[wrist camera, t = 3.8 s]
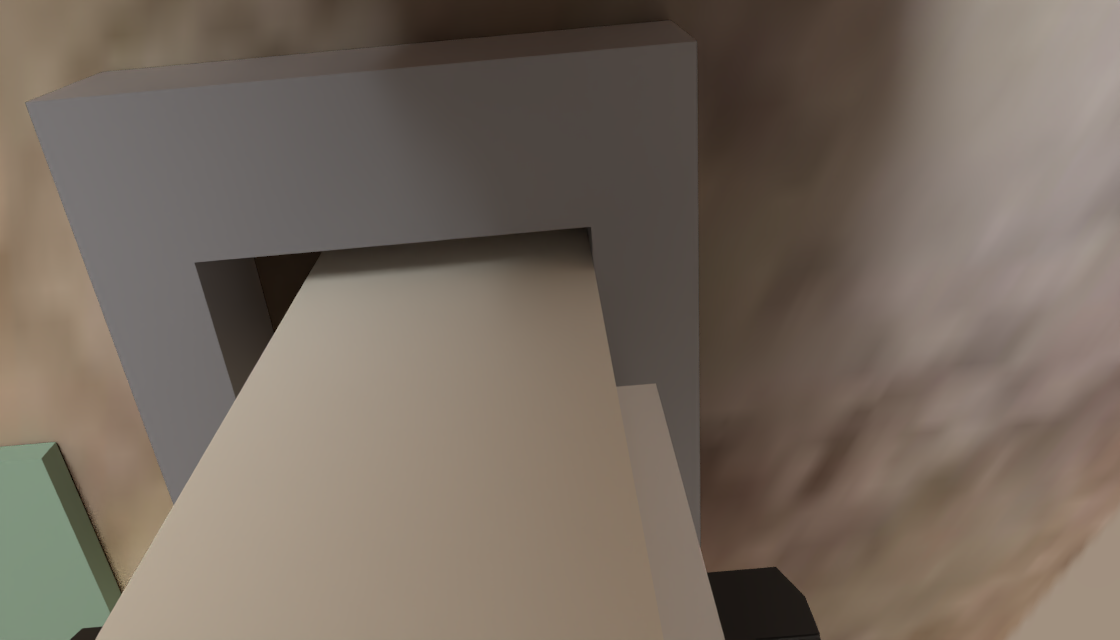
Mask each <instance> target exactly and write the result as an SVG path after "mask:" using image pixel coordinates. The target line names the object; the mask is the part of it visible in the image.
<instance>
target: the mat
mask: <svg viewBox="0 0 1120 640" xmlns="http://www.w3.org/2000/svg"><path fill="white" fill-rule="evenodd" d="M120 596H121V592H120V590H119V587H118V585H117V583H116V580H115V578H114V576H113V573H112V571H111V569H110V566H109V564H108V562H107V559H106V557H105V555H104V553H103V550H102V548H101V546H100V543H99V541H98V539H97V536H96V534H95V532H94V529H93V527H92V525H91V522H90V520H89V518H88V515H87V513H86V511H85V509H84V506H83V504H82V502H81V499H80V497H79V495H78V492H77V490H76V488H75V485H74V483H73V481H72V478H71V476H70V474H69V471H68V469H67V467H66V465H65V462H64V460H63V458H62V455H61V453H60V451H59V448H58V446H57V444H56V442H50V443H39V444H27V445H16V446H5V447H0V640H70V639H71V638H72V637H73V636H74V635H76V634H77V633H78V632H79V631H80V630H81V629H82V628H91V627H103V625H104V624H105V622H106V620H107V618H108V617H109V615H110V613H111V612H112V610H113V608H114V606H115V605H116V603H117V601H118V600H119V598H120Z"/></svg>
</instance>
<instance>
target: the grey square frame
mask: <svg viewBox="0 0 1120 640" xmlns="http://www.w3.org/2000/svg"><path fill="white" fill-rule="evenodd" d="M25 104H26V106H27V109H28V112H29V115H30V117H31V120H32V123H33V125H34V128H35V131H36V133H37V136H38V139H39V142H40V144H41V147H42V150H43V152H44V155H45V158H46V161H47V163H48V166H49V169H50V171H51V174H52V177H53V179H54V182H55V185H56V188H57V190H58V193H59V196H60V198H61V201H62V204H63V207H64V209H65V212H66V215H67V217H68V220H69V223H70V226H71V228H72V231H73V234H74V236H75V239H76V242H77V244H78V247H79V250H80V253H81V255H82V258H83V261H84V263H85V266H86V269H87V272H88V274H89V277H90V280H91V282H92V285H93V288H94V291H95V293H96V296H97V299H98V301H99V304H100V307H101V309H102V312H103V315H104V318H105V320H106V323H107V326H108V328H109V331H110V334H111V337H112V339H113V342H114V345H115V347H116V350H117V353H118V355H119V358H120V361H121V364H122V366H123V369H124V372H125V374H126V377H127V380H128V383H129V385H130V388H131V391H132V393H133V396H134V399H135V402H136V404H137V407H138V410H139V412H140V415H141V418H142V420H143V423H144V426H145V429H146V431H147V434H148V437H149V439H150V442H151V445H152V448H153V450H154V453H155V456H156V458H157V461H158V464H159V467H160V469H161V472H162V475H163V477H164V480H165V483H166V485H167V488H168V491H169V494H170V496H171V499H172V502H173V504H175V502H176V500H177V499H178V497H179V495H180V494H181V492H182V490H183V488H184V487H185V485H186V483H187V482H188V480H189V478H190V477H191V475H192V473H193V471H194V470H195V468H196V466H197V465H198V463H199V461H200V459H201V458H202V456H203V454H204V453H205V451H206V449H207V447H208V446H209V444H210V442H211V441H212V439H213V437H214V436H215V434H216V432H217V430H218V429H219V427H220V425H221V424H222V422H223V420H224V418H225V417H226V415H227V413H228V412H229V410H230V408H231V406H232V405H233V403H234V401H235V400H236V398H237V396H238V394H239V393H240V391H241V389H242V388H243V386H244V384H245V383H246V381H247V379H248V377H249V376H250V374H251V372H252V371H253V369H254V367H255V365H256V364H257V362H258V360H259V359H260V357H261V355H262V353H263V352H264V350H265V348H266V347H267V345H268V343H269V342H270V340H271V338H272V336H273V335H274V331H273V328H272V324H271V320H270V316H269V313H268V309H267V305H266V302H265V298H264V294H263V290H262V287H261V283H260V279H259V276H258V272H257V268H256V264H255V261H254V257H261V256H272V255H283V254H294V253H306V252H317V251H328V250H339V249H350V248H361V247H372V246H383V245H394V244H405V243H416V242H427V241H439V240H450V239H461V238H472V237H483V236H494V235H505V234H516V233H527V232H538V231H549V230H561V229H572V228H583V227H586V229H587V234H588V240H589V245H590V250H591V256H592V261H593V266H594V271H595V276H596V281H597V287H598V292H599V297H600V303H601V308H602V313H603V319H604V324H605V329H606V335H607V340H608V345H609V351H610V356H611V361H612V367H613V372H614V377H615V383H616V387H620V386H632V385H644V384H655V383H656V386H657V390H658V393H659V397H660V401H661V404H662V408H663V412H664V416H665V419H666V423H667V427H668V430H669V434H670V438H671V442H672V445H673V449H674V453H675V456H676V460H677V464H678V468H679V471H680V475H681V479H682V482H683V486H684V490H685V493H686V497H687V501H688V505H689V508H690V512H691V516H692V519H693V523H694V527H695V531H696V534H697V538H698V542H699V545H700V549H701V530H700V384H699V237H698V91H697V41H696V40H695V39H694V38H693V37H691V36H690V35H689V34H688V33H686V32H685V31H684V30H683V29H681V28H680V27H679V26H678V25H676V24H675V23H674V22H673V21H671V20H666V21H655V22H644V23H633V24H622V25H611V26H600V27H589V28H578V29H567V30H556V31H546V32H535V33H524V34H513V35H502V36H491V37H480V38H469V39H458V40H447V41H436V42H425V43H414V44H403V45H392V46H381V47H370V48H359V49H348V50H337V51H326V52H315V53H304V54H293V55H282V56H271V57H260V58H249V59H238V60H227V61H216V62H205V63H194V64H183V65H172V66H162V67H151V68H140V69H129V70H118V71H107V72H101V73H98V74H96V75H93V76H90V77H88V78H85V79H83V80H80V81H78V82H75V83H73V84H70V85H68V86H65V87H63V88H60V89H58V90H55V91H53V92H50V93H47V94H45V95H42V96H40V97H37V98H35V99H32V100H30V101H27V102H25Z"/></svg>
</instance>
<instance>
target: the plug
mask: <svg viewBox="0 0 1120 640" xmlns="http://www.w3.org/2000/svg"><path fill="white" fill-rule="evenodd" d="M95 640H664V638H663V633H662V628H661V622H660V617H659V612H658V606H657V601H656V596H655V591H654V585H653V580H652V575H651V569H650V564H649V559H648V553H647V548H646V543H645V537H644V532H643V527H642V521H641V516H640V511H639V505H638V500H637V495H636V489H635V484H634V479H633V473H632V468H631V463H630V457H629V452H628V447H627V441H626V436H625V431H624V425H623V420H622V415H621V409H620V404H619V399H618V393H617V388H616V383H615V377H614V372H613V367H612V361H611V356H610V351H609V345H608V340H607V335H606V329H605V324H604V319H603V313H602V308H601V303H600V297H599V292H598V287H597V281H596V276H595V271H594V266H593V261H592V256H591V250H590V245H589V240H588V234H587V229H586V227H583V228H572V229H561V230H549V231H538V232H527V233H516V234H505V235H494V236H483V237H472V238H461V239H450V240H439V241H427V242H416V243H405V244H394V245H383V246H372V247H361V248H350V249H339V250H328V251H322V253H321V254H320V256H319V258H318V259H317V261H316V263H315V265H314V266H313V268H312V270H311V271H310V273H309V275H308V277H307V278H306V280H305V282H304V283H303V285H302V287H301V289H300V290H299V292H298V294H297V295H296V297H295V299H294V300H293V302H292V304H291V306H290V307H289V309H288V311H287V312H286V314H285V316H284V318H283V319H282V321H281V323H280V324H279V326H278V328H277V330H276V331H275V333H274V335H273V336H272V338H271V340H270V342H269V343H268V345H267V347H266V348H265V350H264V352H263V353H262V355H261V357H260V359H259V360H258V362H257V364H256V365H255V367H254V369H253V371H252V372H251V374H250V376H249V377H248V379H247V381H246V383H245V384H244V386H243V388H242V389H241V391H240V393H239V394H238V396H237V398H236V400H235V401H234V403H233V405H232V406H231V408H230V410H229V412H228V413H227V415H226V417H225V418H224V420H223V422H222V424H221V425H220V427H219V429H218V430H217V432H216V434H215V436H214V437H213V439H212V441H211V442H210V444H209V446H208V447H207V449H206V451H205V453H204V454H203V456H202V458H201V459H200V461H199V463H198V465H197V466H196V468H195V470H194V471H193V473H192V475H191V477H190V478H189V480H188V482H187V483H186V485H185V487H184V488H183V490H182V492H181V494H180V495H179V497H178V499H177V500H176V502H175V504H174V506H173V507H172V509H171V511H170V512H169V514H168V516H167V518H166V519H165V521H164V523H163V524H162V526H161V528H160V530H159V531H158V533H157V535H156V536H155V538H154V540H153V541H152V543H151V545H150V547H149V548H148V550H147V552H146V553H145V555H144V557H143V559H142V560H141V562H140V564H139V565H138V567H137V569H136V571H135V572H134V574H133V576H132V577H131V579H130V581H129V582H128V584H127V586H126V588H125V589H124V591H123V593H122V594H121V596H120V598H119V600H118V601H117V603H116V605H115V606H114V608H113V610H112V612H111V613H110V615H109V617H108V618H107V620H106V622H105V624H104V625H103V627H102V629H101V630H100V632H99V634H98V635H97V637H96V639H95Z"/></svg>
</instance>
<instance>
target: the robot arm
mask: <svg viewBox="0 0 1120 640" xmlns="http://www.w3.org/2000/svg"><path fill="white" fill-rule="evenodd" d="M616 388H617V393H618V399H619V404H620V409H621V415H622V420H623V425H624V431H625V436H626V441H627V447H628V452H629V457H630V463H631V468H632V473H633V479H634V484H635V489H636V495H637V500H638V505H639V511H640V516H641V521H642V527H643V532H644V537H645V543H646V548H647V553H648V559H649V564H650V569H651V575H652V580H653V585H654V591H655V596H656V601H657V606H658V612H659V617H660V622H661V628H662V633H663V638H664V640H821V639H820V633H819V631H818V628H817V626H816V623H815V621H814V618H813V616H812V613H811V611H810V608H809V606H808V603H807V601H806V598H805V596H804V595H803V594H802V593H801V592H800V591H799V590H798V589H797V588H796V587H795V586H794V585H793V584H792V583H791V582H790V581H789V580H788V579H787V578H786V577H785V576H784V575H783V574H782V573H781V572H780V571H779V570H778V569H777V568H776V567H769V568H757V569H745V570H734V571H722V572H710V573H707V571H706V568H705V564H704V560H703V557H702V553H701V549H700V545H699V542H698V538H697V534H696V531H695V527H694V523H693V519H692V516H691V512H690V508H689V505H688V501H687V497H686V493H685V490H684V486H683V482H682V479H681V475H680V471H679V468H678V464H677V460H676V456H675V453H674V449H673V445H672V442H671V438H670V434H669V430H668V427H667V423H666V419H665V416H664V412H663V408H662V404H661V401H660V397H659V393H658V390H657V386H656V383H655V384H644V385H632V386H620V387H616ZM101 629H102V627H91V628H82V629H81V630H80V631H79V632H78V633H77V634H76V635H74V636H73V637H72V638H71V639H70V640H95V639H96V637H97V635H98V634H99V632H100V630H101Z"/></svg>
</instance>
